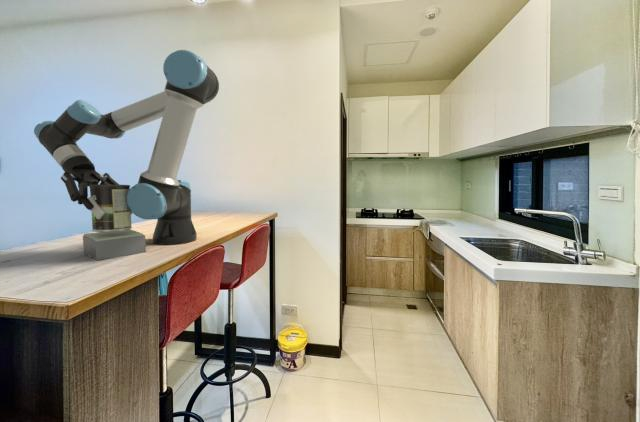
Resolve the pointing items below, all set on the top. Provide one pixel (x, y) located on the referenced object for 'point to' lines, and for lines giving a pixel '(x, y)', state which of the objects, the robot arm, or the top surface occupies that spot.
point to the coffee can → (111, 208)
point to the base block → (113, 244)
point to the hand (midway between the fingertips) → (117, 214)
